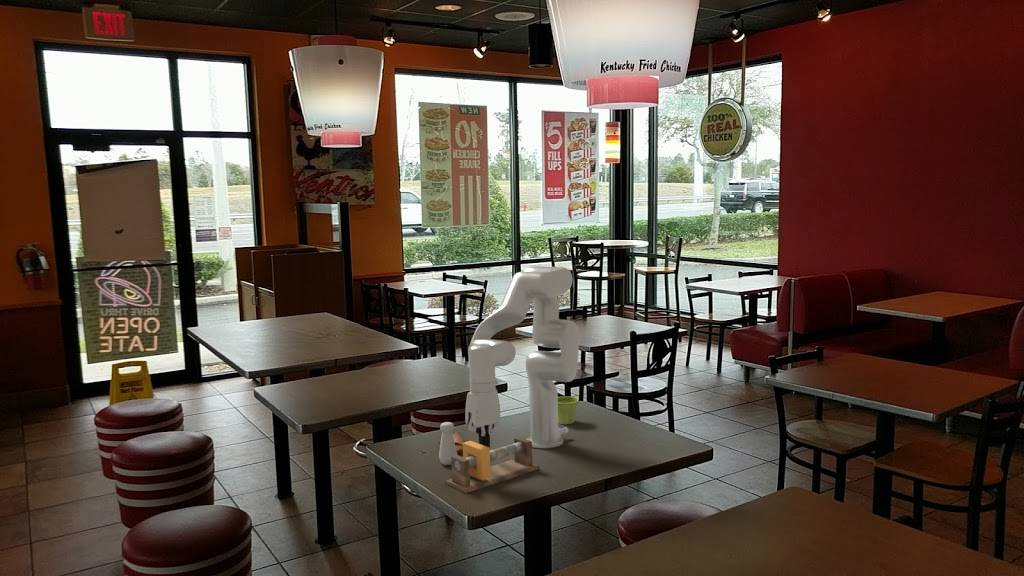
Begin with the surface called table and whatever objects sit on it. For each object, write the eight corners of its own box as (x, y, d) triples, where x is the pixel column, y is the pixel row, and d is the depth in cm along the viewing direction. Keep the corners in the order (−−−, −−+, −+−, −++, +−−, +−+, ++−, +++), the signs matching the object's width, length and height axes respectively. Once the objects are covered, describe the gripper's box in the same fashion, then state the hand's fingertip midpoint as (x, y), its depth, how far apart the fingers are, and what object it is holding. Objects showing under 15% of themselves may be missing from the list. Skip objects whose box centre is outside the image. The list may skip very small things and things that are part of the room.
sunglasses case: (437, 441, 257) (446, 424, 257) (454, 450, 259) (464, 433, 259) (442, 458, 240) (452, 440, 240) (461, 467, 241) (471, 449, 241)
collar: (471, 469, 223) (470, 440, 222) (490, 477, 216) (489, 447, 215) (463, 472, 221) (462, 442, 220) (482, 480, 215) (481, 450, 214)
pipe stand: (517, 460, 236) (517, 434, 235) (539, 468, 228) (538, 441, 227) (445, 483, 218) (444, 455, 217) (466, 493, 210) (465, 464, 209)
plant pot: (571, 427, 270) (571, 404, 269) (548, 424, 274) (548, 401, 273) (583, 420, 278) (582, 398, 277) (560, 417, 282) (559, 395, 281)
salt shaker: (454, 466, 232) (453, 426, 231) (436, 465, 233) (435, 425, 232) (459, 460, 238) (458, 420, 236) (442, 459, 239) (440, 420, 238)
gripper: (494, 380, 226) (496, 439, 228) (454, 389, 216) (456, 450, 218) (510, 384, 220) (512, 444, 222) (470, 393, 210) (472, 456, 212)
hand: (484, 447), depth 220 cm, fingers closed
